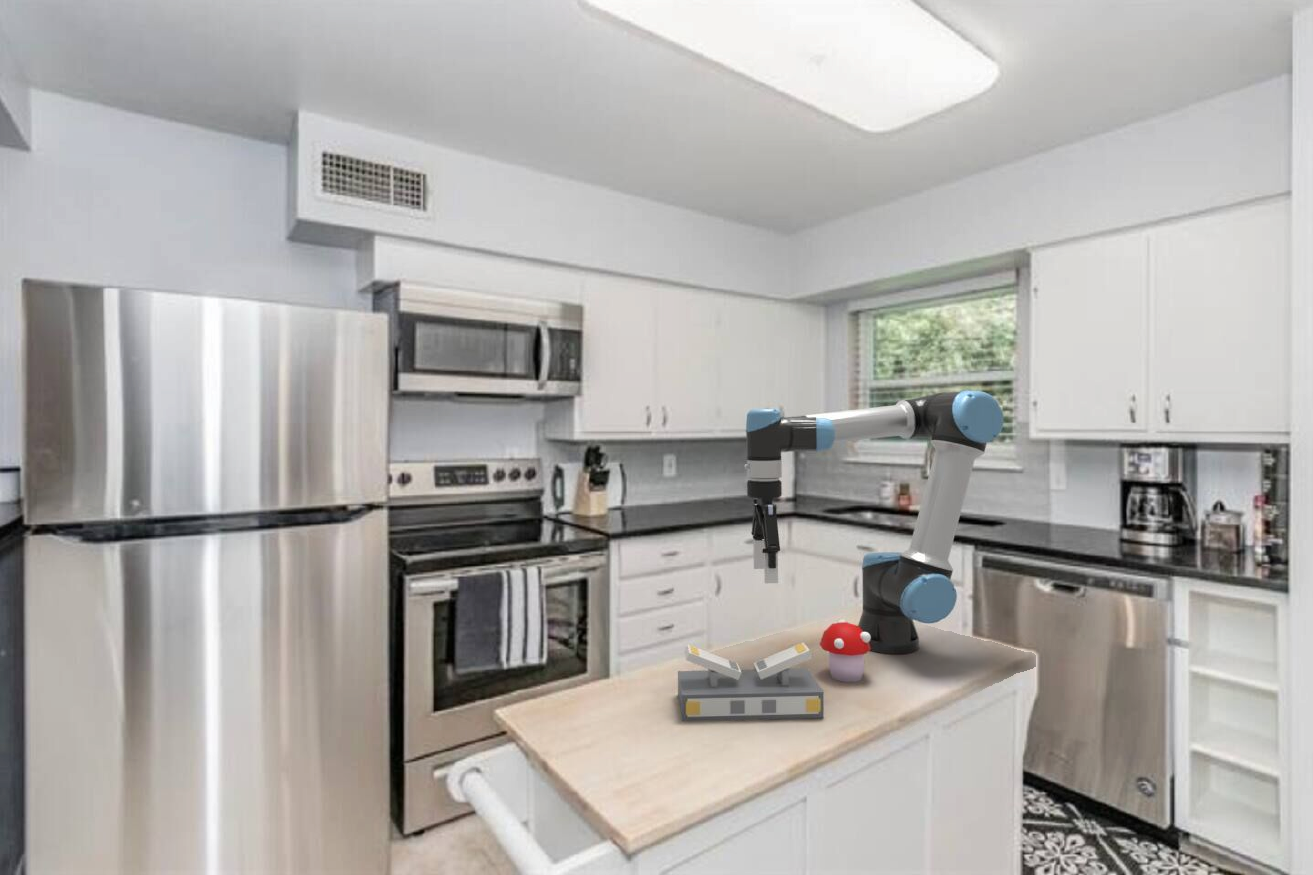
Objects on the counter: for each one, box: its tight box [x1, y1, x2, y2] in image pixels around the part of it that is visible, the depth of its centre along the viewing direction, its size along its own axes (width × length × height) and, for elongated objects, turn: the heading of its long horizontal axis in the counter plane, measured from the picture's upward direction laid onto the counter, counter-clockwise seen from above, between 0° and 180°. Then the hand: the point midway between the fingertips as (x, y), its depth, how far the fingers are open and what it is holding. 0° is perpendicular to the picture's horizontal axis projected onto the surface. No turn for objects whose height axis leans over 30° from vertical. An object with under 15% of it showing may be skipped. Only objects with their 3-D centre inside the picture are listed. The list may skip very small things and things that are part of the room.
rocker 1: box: [684, 644, 742, 680], centre depth 132 cm, size 11×5×2 cm, turn 92°
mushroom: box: [819, 618, 871, 683], centre depth 147 cm, size 11×11×12 cm
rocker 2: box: [753, 641, 813, 679], centre depth 133 cm, size 11×5×2 cm, turn 91°
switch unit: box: [677, 667, 825, 722], centre depth 132 cm, size 27×12×8 cm, turn 92°
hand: (765, 575), depth 148 cm, fingers open, 13 cm apart
